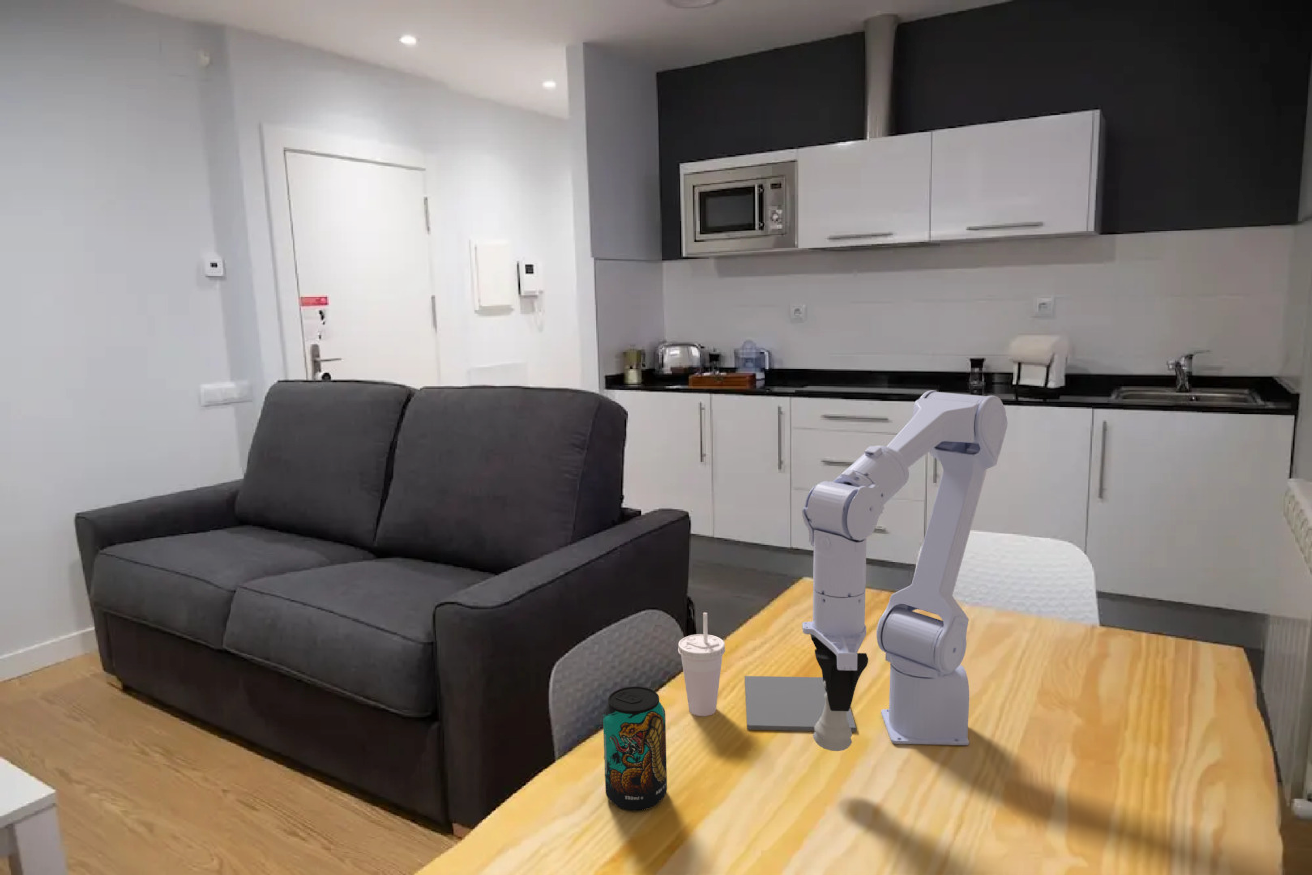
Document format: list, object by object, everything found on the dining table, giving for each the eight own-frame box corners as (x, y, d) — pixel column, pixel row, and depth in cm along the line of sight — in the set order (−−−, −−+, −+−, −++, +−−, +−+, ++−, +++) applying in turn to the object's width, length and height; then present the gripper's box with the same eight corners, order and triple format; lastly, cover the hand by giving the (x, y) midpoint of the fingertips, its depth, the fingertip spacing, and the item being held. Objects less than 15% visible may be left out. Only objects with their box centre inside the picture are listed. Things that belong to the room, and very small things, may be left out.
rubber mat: (841, 681, 121) (841, 677, 121) (855, 731, 107) (855, 727, 107) (744, 679, 122) (744, 675, 122) (747, 729, 108) (747, 725, 108)
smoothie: (722, 723, 110) (721, 623, 108) (675, 719, 111) (673, 620, 109) (728, 699, 116) (727, 605, 114) (683, 696, 117) (681, 602, 115)
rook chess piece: (807, 732, 98) (813, 668, 96) (843, 732, 98) (850, 668, 97) (819, 752, 93) (825, 685, 92) (857, 752, 94) (864, 686, 92)
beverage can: (645, 822, 90) (642, 720, 88) (593, 802, 94) (589, 704, 91) (678, 788, 96) (676, 692, 94) (628, 771, 99) (625, 678, 97)
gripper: (797, 566, 100) (796, 671, 102) (809, 613, 86) (808, 733, 88) (856, 567, 99) (854, 672, 102) (878, 613, 85) (875, 735, 88)
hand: (837, 701), depth 95 cm, fingers closed on rook chess piece, 3 cm apart
